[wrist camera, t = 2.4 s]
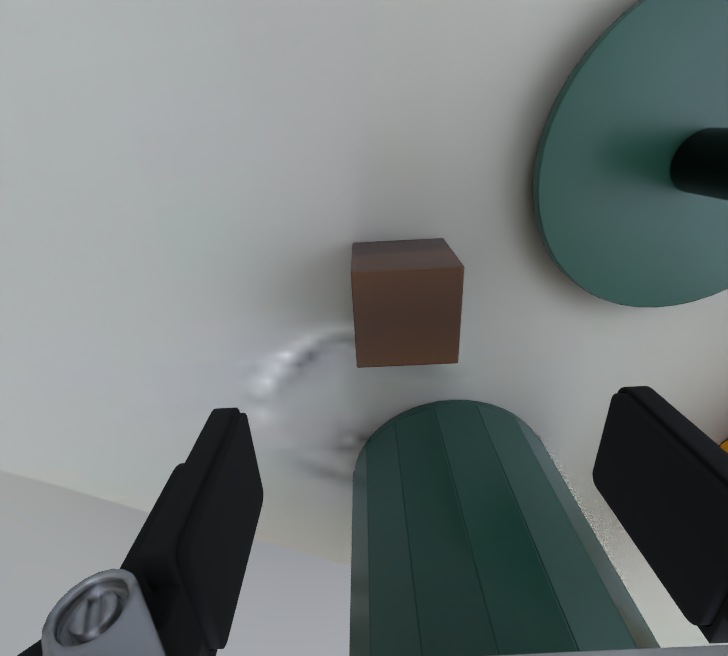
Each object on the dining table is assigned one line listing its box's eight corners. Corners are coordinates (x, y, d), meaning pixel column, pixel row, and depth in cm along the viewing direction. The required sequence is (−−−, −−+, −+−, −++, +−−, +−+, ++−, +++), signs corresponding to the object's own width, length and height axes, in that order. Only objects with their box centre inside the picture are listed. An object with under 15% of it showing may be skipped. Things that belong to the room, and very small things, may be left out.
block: (352, 242, 19) (350, 271, 15) (443, 238, 19) (464, 266, 15) (357, 324, 21) (357, 368, 17) (440, 320, 20) (458, 363, 17)
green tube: (348, 404, 23) (335, 693, 11) (558, 395, 23) (768, 678, 11) (359, 541, 28) (358, 836, 16) (529, 535, 28) (651, 828, 16)
